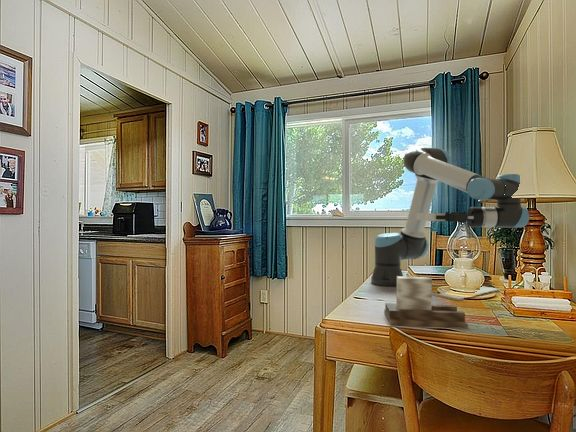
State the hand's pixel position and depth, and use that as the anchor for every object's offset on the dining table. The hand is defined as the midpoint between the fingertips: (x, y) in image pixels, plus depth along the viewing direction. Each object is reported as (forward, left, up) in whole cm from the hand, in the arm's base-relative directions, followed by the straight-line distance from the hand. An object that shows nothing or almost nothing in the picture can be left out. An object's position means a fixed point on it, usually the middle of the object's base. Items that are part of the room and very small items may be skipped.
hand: (421, 216), depth 141 cm
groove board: (+16, +19, -32) cm, 40 cm away
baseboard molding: (-28, -4, -33) cm, 44 cm away
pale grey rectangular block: (+19, +17, -31) cm, 40 cm away
